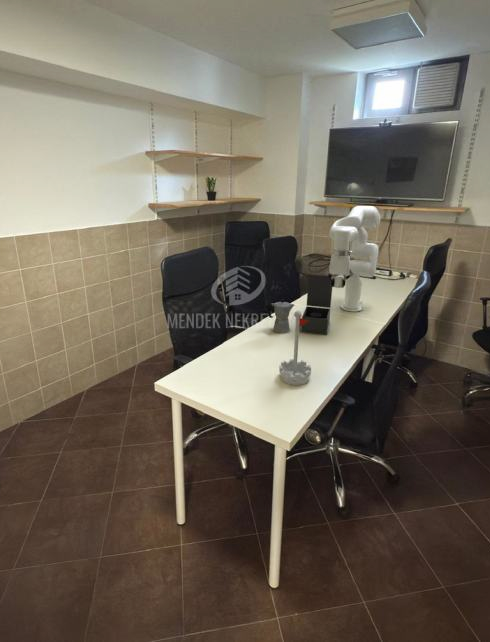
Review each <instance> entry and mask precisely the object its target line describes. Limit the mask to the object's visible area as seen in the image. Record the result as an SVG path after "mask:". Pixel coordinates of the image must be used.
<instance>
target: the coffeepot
mask: <svg viewBox="0 0 490 642" xmlns="http://www.w3.org/2000/svg"><path fill="white" fill-rule="evenodd" d="M295 306H296V305H295V304H294V303H289V302H287V301H285V299H284V298H281V299H280V301H278V302H277V301H276V302H275V303H268V304H266V306H265V308H266V309H265V310H266V311H267V314H268V317H269V318H270V319H273V318H274V316H275V318H274V319H275V320H274V323H273V324H274V325H273V332H275V333H279V334H287V333H289V332H290V329H291V326H290V321H289V316H290V312H291V311H292V309H293V308H294V307H295ZM271 308H273V309H274V316H273V315H272V312H271Z"/></svg>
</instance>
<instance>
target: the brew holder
mask: <svg viewBox="0 0 490 642" xmlns="http://www.w3.org/2000/svg"><path fill="white" fill-rule="evenodd" d="M321 316H322V315H321V314H320V313H316V312H314V313H311V314H310V317H313V318H321Z"/></svg>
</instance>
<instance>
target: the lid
mask: <svg viewBox="0 0 490 642" xmlns="http://www.w3.org/2000/svg"><path fill="white" fill-rule="evenodd" d="M307 281H308V282H307V294H306V306H309V307H319V308H329V309H332V308H331V307H332V298H333V297H332V295H333V287H332V285H331V281H332V279H331V278H330V277H329V276H328V275H327V274H315V273H314V274H312V273H309V274H308V280H307Z"/></svg>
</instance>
